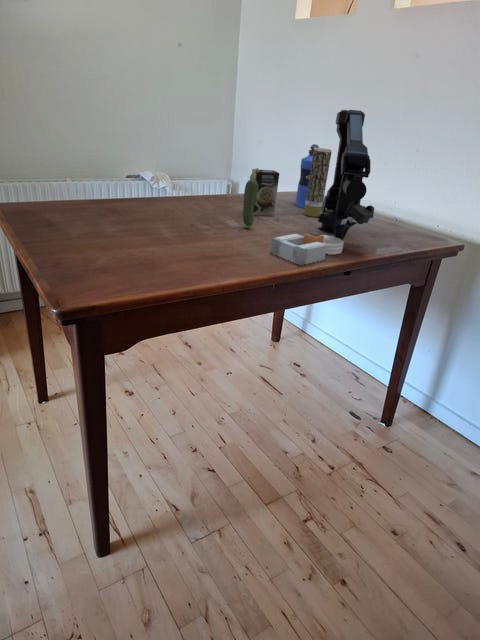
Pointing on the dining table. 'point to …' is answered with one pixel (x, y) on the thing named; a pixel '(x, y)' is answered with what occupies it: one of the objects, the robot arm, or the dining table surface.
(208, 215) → the dining table surface
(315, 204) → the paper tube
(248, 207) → the vegetable
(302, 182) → the water bottle
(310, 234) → the orange cylinder
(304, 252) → the housing
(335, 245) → the white round dish
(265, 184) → the coffee box
